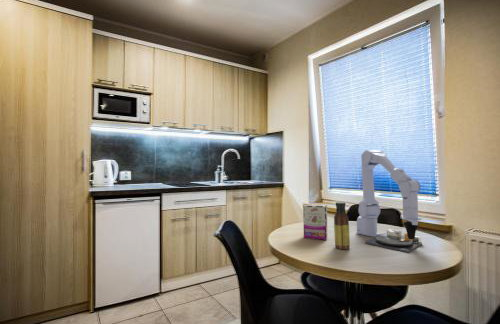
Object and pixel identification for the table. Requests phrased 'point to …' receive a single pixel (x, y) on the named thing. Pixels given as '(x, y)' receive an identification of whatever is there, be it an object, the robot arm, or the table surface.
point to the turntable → (394, 240)
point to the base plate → (407, 249)
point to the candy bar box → (315, 221)
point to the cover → (393, 234)
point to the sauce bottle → (341, 227)
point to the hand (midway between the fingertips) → (411, 238)
